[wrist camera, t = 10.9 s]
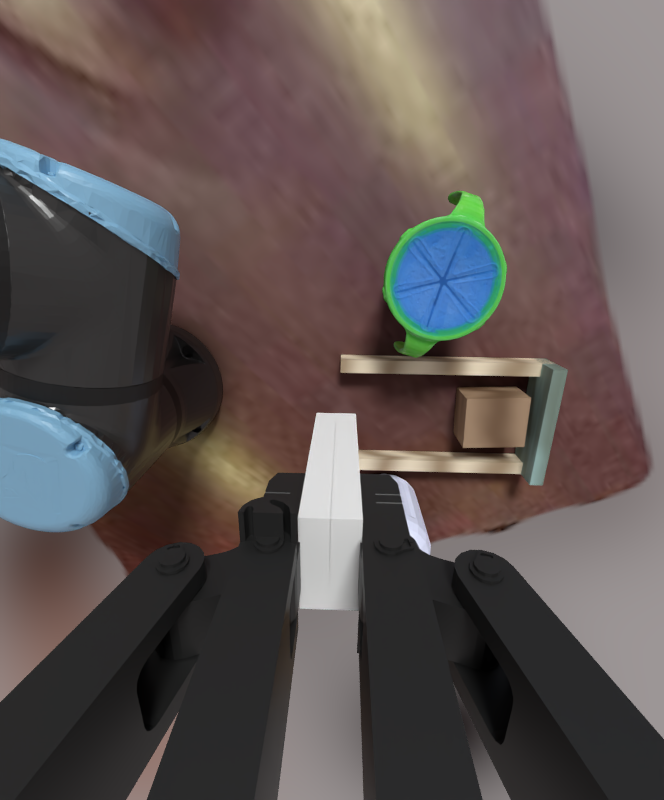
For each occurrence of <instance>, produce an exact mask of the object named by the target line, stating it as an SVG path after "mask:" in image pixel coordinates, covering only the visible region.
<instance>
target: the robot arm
mask: <svg viewBox="0 0 664 800" xmlns="http://www.w3.org/2000/svg"><path fill="white" fill-rule="evenodd" d="M179 247H180V230H179V226H178V224H177V222H176V220H175V219H174V217H173V216H172V215H171V214H170V213H169V212H168V211H167V210H166V209H164V208H163V207H161V206H159V205H157V204H156V203H154V202H152V201H150V200H148V199H146V198H144V197H142V196H140V195H138V194H135V193H133V192H131V191H129V190H127V189H125V188H122V187H120V186H118V185H116V184H113V183H111V182H109V181H107V180H104V179H102V178H100V177H97V176H95V175H93V174H90V173H88V172H86V171H83V170H81V169H78V168H76V167H73V166H71V165H68V164H66V163H62V162H58V161H56V160H55V159H53V158H50V157H47V156H45V155H42V154H39V153H37V152H36V151H34V150H31V149H29V148H26V147H24V146H21V145H18V144H15V143H13V142H10V141H7V140H4V139H0V518H2V519H4V520H6V521H9V522H11V523H13V524H15V525H18V526H21V527H24V528H28V529H32V530H37V531H44V532H67V531H73V530H77V529H81V528H83V527H84V526H88V525H89V524H92V523H94V522H95V521H97V520H98V519H100V518H101V517H102V516H103V515H105V514H106V513H107V512H108V511H109V510H111V509H112V508H113V507H114V506H116V505H118V504H119V503H120V502H121V501H122V500H123V499H124V498H125V496H126V495H127V492H128V491H129V490H130V489H131V488H132V486H133V485H134V484H135V483H136V482H137V481H138V480H139V479H140V478H141V477H142V476H143V474H144V473H145V472H146V471H147V470H148V469H149V468H150V467H151V466H152V465H153V463H154V462H155V461H156V460H157V459H158V458H159V457H160V456H161V455H162V454H163V453H164V451H165V450H166V449H167V448H170V447H173V446H176V445H179V444H182V443H185V442H187V441H189V440H191V439H193V438H195V437H196V436H198V435H199V434H200V433H201V432H203V431H204V430H205V429H206V427H207V426H208V425H209V424H210V423H211V421H212V420H213V419H214V417H215V416H216V414H217V412H218V410H219V407H220V404H221V401H222V394H223V385H222V378H221V374H220V371H219V368H218V366H217V363H216V361H215V359H214V358H213V356H212V354H211V353H210V352H209V350H208V349H207V348H206V347H205V346H204V345H203V344H202V343H201V342H200V341H199V340H198V339H197V338H196V337H194V336H193V335H192V334H190V333H188V332H187V331H185V330H183V329H181V328H179V327H176V326H174V325H170V323H171V316H172V308H173V301H174V294H175V286H176V279H177V280H179V277H180V273H179V271H178V270H177V269H178V258H179ZM238 519H239V531H240V544H239V546H238V547H236V548H234V549H232V550H230V551H227V552H223V553H219V554H214V555H209V556H204V552H203V551H202V550H201V548H200V547H199V546H197V545H194V544H192V543H183V542H179V543H174V544H169V545H166V546H164V547H161V548H159V549H157V550H155V551H154V552H153V553H151V554H150V555H149V556H147V557H146V558H145V559H144V560H143V561H142V562H141V563H140V564H139V565H138V566H137V567H136V568H135V569H134V570H133V571H132V572H131V573H130V574H129V575H128V576H127V577H126V578H125V579H124V580H123V581H122V582H121V583H120V584H119V585H118V586H117V587H116V588H115V589H114V590H113V591H112V592H111V593H110V594H109V595H108V596H107V597H106V598H105V599H104V600H103V601H102V602H101V603H100V604H99V605H98V606H97V607H96V608H95V609H94V610H93V611H92V612H91V613H90V614H89V615H88V616H87V617H86V618H85V619H84V620H83V621H82V622H81V623H80V624H79V625H78V626H77V627H76V628H75V629H74V630H73V631H72V632H71V633H70V634H69V635H68V636H67V637H66V638H65V639H64V640H63V641H62V642H61V643H60V644H59V645H58V646H57V647H56V648H55V649H54V650H53V651H52V652H51V653H50V654H49V655H48V656H47V657H46V658H45V659H44V660H43V661H42V662H41V663H40V664H39V665H37V667H35V668H34V669H33V671H31V673H29V674H28V675H27V676H26V677H25V678H24V679H23V680H22V681H21V682H20V683H19V684H18V685H17V686H16V687H15V688H14V689H13V690H12V691H11V692H10V693H9V694H8V695H7V696H6V697H5V698H4V699H3V700H2V701H1V702H0V800H126V799H127V797H128V796H129V794H130V792H131V790H132V789H133V787H134V785H135V784H136V782H137V780H138V778H139V777H140V775H141V774H142V772H143V770H144V769H145V767H146V765H147V763H148V762H149V760H150V759H151V757H152V755H153V754H154V752H155V750H156V749H157V747H158V745H159V743H160V742H161V740H162V738H163V737H164V735H165V733H166V732H167V730H168V728H169V726H170V725H171V723H172V721H173V720H174V718H175V716H176V715H177V713H178V715H177V718H176V721H175V724H174V726H173V729H172V732H171V734H170V737H169V740H168V743H167V745H166V748H165V751H164V754H163V756H162V759H161V762H160V765H159V768H158V771H157V773H156V776H155V779H154V781H153V784H152V787H151V790H150V792H149V795H148V798H147V800H277V797H278V789H279V780H280V772H281V764H282V756H283V748H284V740H285V732H286V723H287V715H288V707H289V699H290V690H291V682H292V674H293V666H294V658H295V650H296V642H297V633H298V607H299V605H300V609H325V610H326V609H327V610H354V611H359V622H358V644H357V653H359V671H360V699H361V700H360V701H361V732H362V760H363V761H362V762H363V793H364V800H482V796H481V792H480V788H479V784H478V780H477V776H476V772H475V768H474V764H473V760H472V757H471V752H470V748H469V744H468V740H467V736H466V732H465V728H464V724H463V720H462V716H461V712H460V708H459V704H458V700H457V696H456V693H455V688H454V685H455V687H456V689H457V691H458V693H459V695H460V697H461V699H462V701H463V703H464V705H465V708H466V709H467V711H468V714H469V716H470V718H471V719H472V722H473V724H474V726H475V728H476V730H477V732H478V734H479V736H480V738H481V740H482V742H483V744H484V746H485V748H486V750H487V752H488V754H489V756H490V758H491V760H492V762H493V764H494V766H495V768H496V770H497V772H498V775H499V777H500V779H501V780H502V783H503V785H504V787H505V789H506V791H507V793H508V795H509V797H510V799H511V800H664V739H663V738H662V737H661V736H660V734H659V733H658V732H657V731H656V730H655V729H654V727H653V726H652V725H651V724H650V723H649V722H648V721H647V720H646V718H645V717H644V716H643V715H642V714H641V713H640V711H639V710H638V709H637V708H636V707H635V706H634V705H633V703H632V702H631V701H630V700H629V699H628V698H627V696H626V695H625V694H624V693H623V692H622V691H621V690H620V688H619V687H618V686H617V685H616V684H615V683H614V682H613V680H612V679H611V678H610V677H609V676H608V675H607V673H606V672H605V671H604V670H603V669H602V668H601V667H600V665H599V664H598V663H597V662H596V661H595V660H594V659H593V657H592V656H591V655H590V654H589V653H588V652H587V650H586V649H585V648H584V647H583V646H582V645H581V644H580V642H579V641H578V640H577V639H576V638H575V637H574V636H573V635H572V633H571V632H570V631H569V630H568V629H567V627H566V626H565V625H564V624H563V623H562V622H561V621H560V620H559V618H558V617H557V616H556V615H555V614H554V613H553V611H552V610H551V609H550V608H549V607H548V606H547V605H546V603H545V602H544V601H543V600H542V599H541V598H540V596H539V595H538V594H537V593H536V592H535V591H534V590H533V588H532V587H531V586H530V585H529V584H528V583H527V582H526V580H525V579H524V578H523V577H522V576H521V575H520V574H519V572H518V571H517V570H516V569H515V568H514V567H513V566H512V565H511V564H510V563H509V562H508V561H506V560H505V559H504V558H502V557H500V556H498V555H496V554H494V553H491V552H487V551H483V550H469V551H466V552H463V553H461V554H460V555H459V556H458V557H457V558H456V559H455V563H454V562H451V561H447V560H443V559H439V558H436V557H433V556H431V555H429V554H427V553H425V552H423V551H422V550H421V549H419V546H418V544H417V542H416V540H415V539H414V538H412V537H411V536H410V533H409V529H408V525H407V520H406V516H405V512H404V508H403V504H402V499H401V496H400V491H399V486H398V483H397V482H396V481H395V480H394V479H393V478H392V477H391V476H390V475H388V474H360V469H359V455H358V440H357V426H356V414H344V413H317V414H316V419H315V425H314V431H313V436H312V442H311V447H310V453H309V458H308V464H307V469H306V473H278V474H276V475H275V476H274V477H273V478H272V479H271V480H270V481H269V483H268V485H267V488H266V493H265V494H264V497H261V498H257V499H254V500H251V501H249V502H248V503H246V504H245V505H243V506H242V507H241V509H240V510H239V511H238ZM453 683H454V685H453Z"/></svg>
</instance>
